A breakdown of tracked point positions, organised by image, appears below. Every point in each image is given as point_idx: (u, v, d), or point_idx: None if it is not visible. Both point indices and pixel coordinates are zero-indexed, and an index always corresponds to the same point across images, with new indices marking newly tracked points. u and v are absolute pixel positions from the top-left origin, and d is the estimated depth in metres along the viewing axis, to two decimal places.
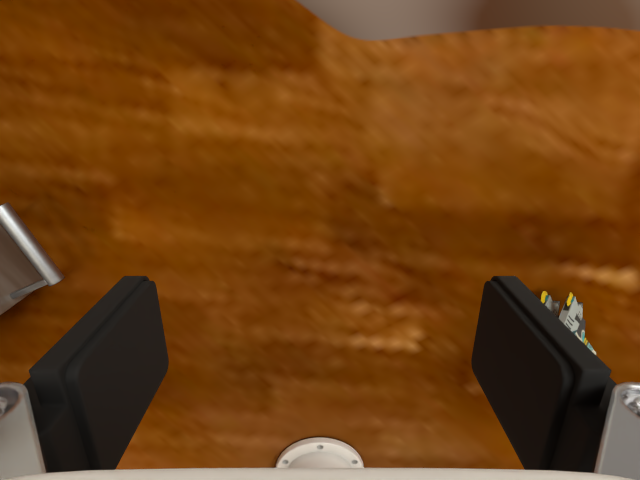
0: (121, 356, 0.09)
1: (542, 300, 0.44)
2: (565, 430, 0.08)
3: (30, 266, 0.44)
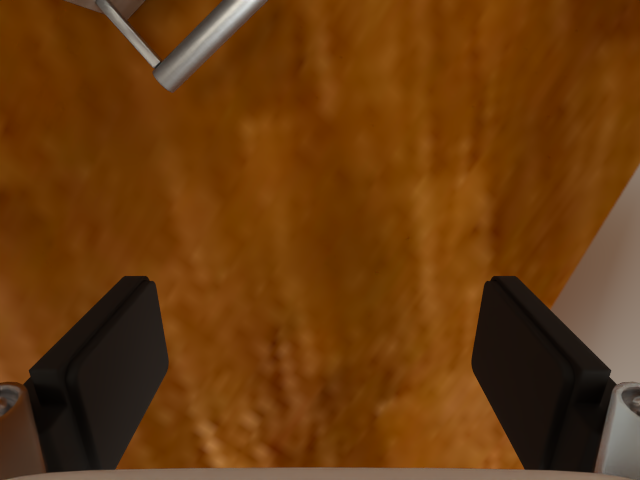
0: (121, 356, 0.09)
1: None
2: (565, 430, 0.08)
3: None
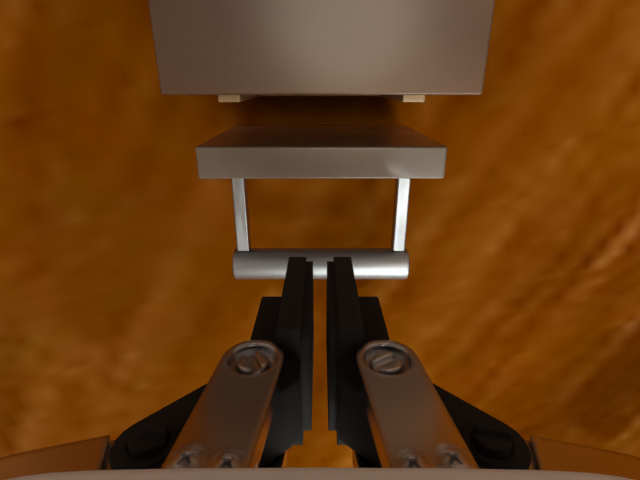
0: None
1: None
2: (339, 383, 0.09)
3: None
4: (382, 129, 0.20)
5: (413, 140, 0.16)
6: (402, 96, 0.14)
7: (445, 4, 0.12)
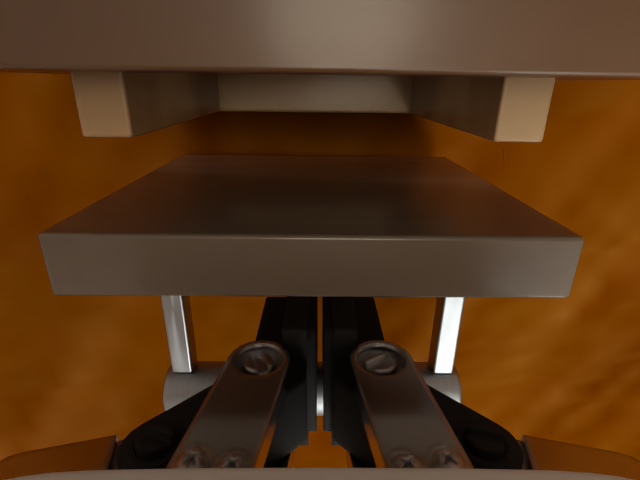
0: None
1: None
2: (333, 383, 0.09)
3: None
4: (416, 169, 0.12)
5: (493, 208, 0.08)
6: (494, 129, 0.06)
7: None
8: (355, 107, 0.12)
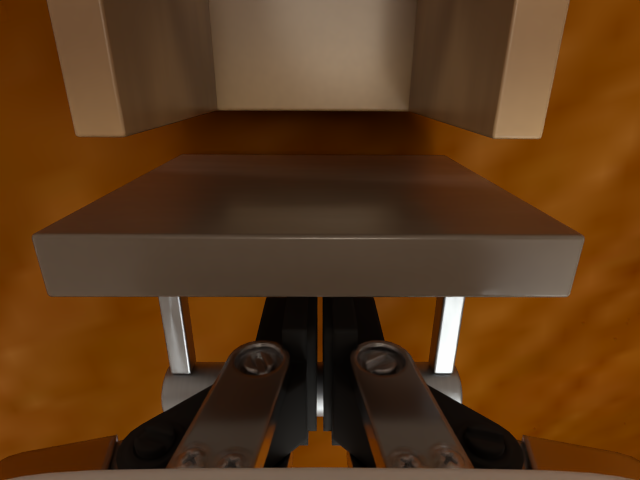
0: None
1: None
2: (333, 384, 0.09)
3: None
4: (415, 167, 0.12)
5: (493, 206, 0.08)
6: (492, 126, 0.06)
7: None
8: (353, 105, 0.12)
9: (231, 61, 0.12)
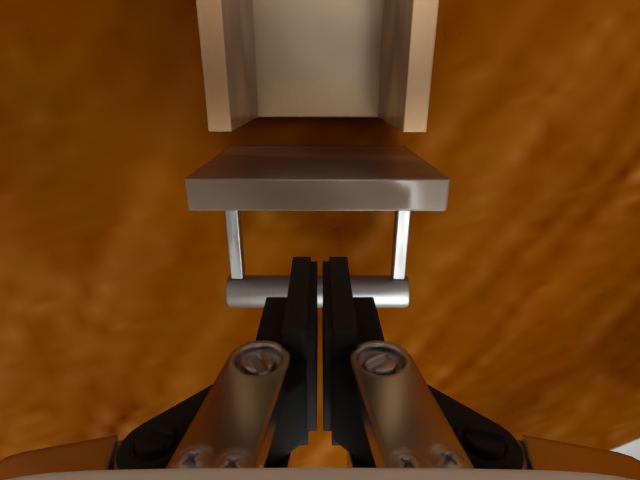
0: None
1: None
2: (333, 384, 0.09)
3: None
4: (381, 152, 0.19)
5: (414, 169, 0.15)
6: (402, 126, 0.13)
7: None
8: (343, 114, 0.19)
9: (267, 87, 0.19)
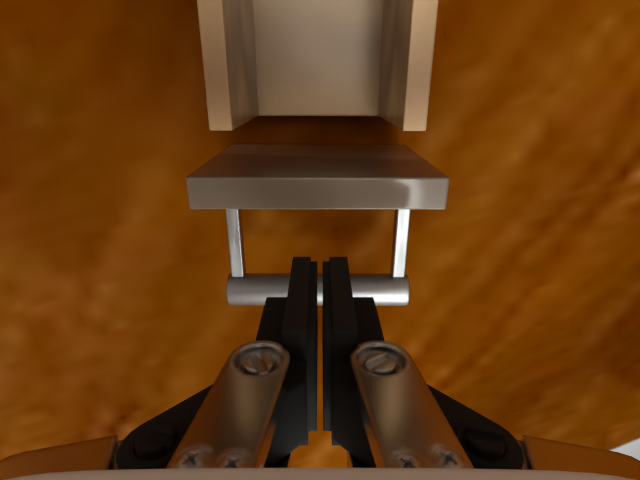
0: None
1: None
2: (333, 384, 0.09)
3: None
4: (381, 151, 0.19)
5: (414, 167, 0.15)
6: (402, 125, 0.14)
7: None
8: (343, 113, 0.19)
9: (268, 86, 0.19)
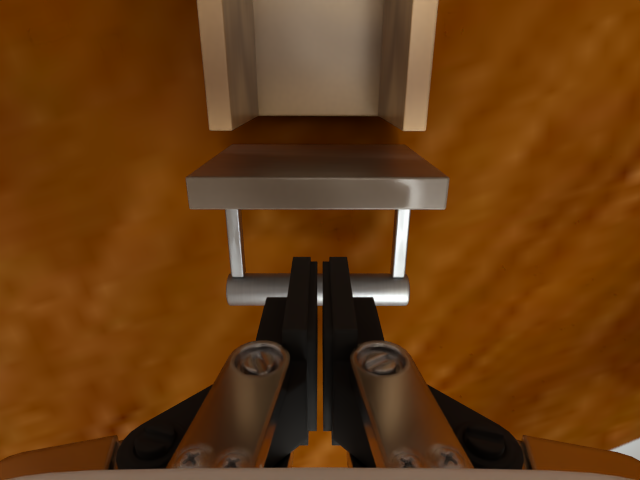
0: None
1: None
2: (333, 384, 0.09)
3: None
4: (381, 151, 0.19)
5: (414, 167, 0.15)
6: (402, 125, 0.14)
7: None
8: (343, 113, 0.19)
9: (268, 86, 0.19)
